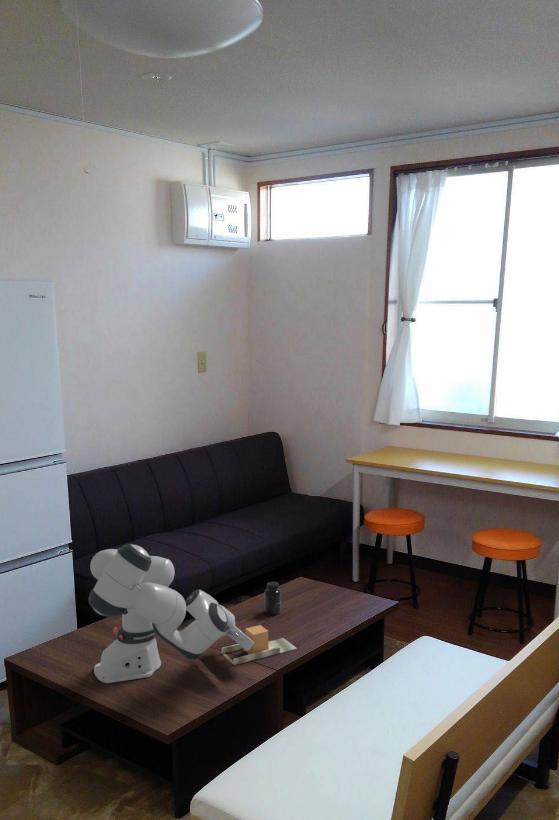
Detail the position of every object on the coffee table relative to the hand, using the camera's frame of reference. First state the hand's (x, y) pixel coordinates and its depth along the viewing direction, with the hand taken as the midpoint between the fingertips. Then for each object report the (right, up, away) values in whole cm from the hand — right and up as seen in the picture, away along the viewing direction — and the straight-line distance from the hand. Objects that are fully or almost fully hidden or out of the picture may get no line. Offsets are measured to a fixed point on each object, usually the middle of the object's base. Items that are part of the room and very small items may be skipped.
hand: (248, 643), depth 247 cm
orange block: (+3, -4, +2) cm, 5 cm away
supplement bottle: (+8, -1, +41) cm, 42 cm away
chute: (+4, -5, +3) cm, 7 cm away
